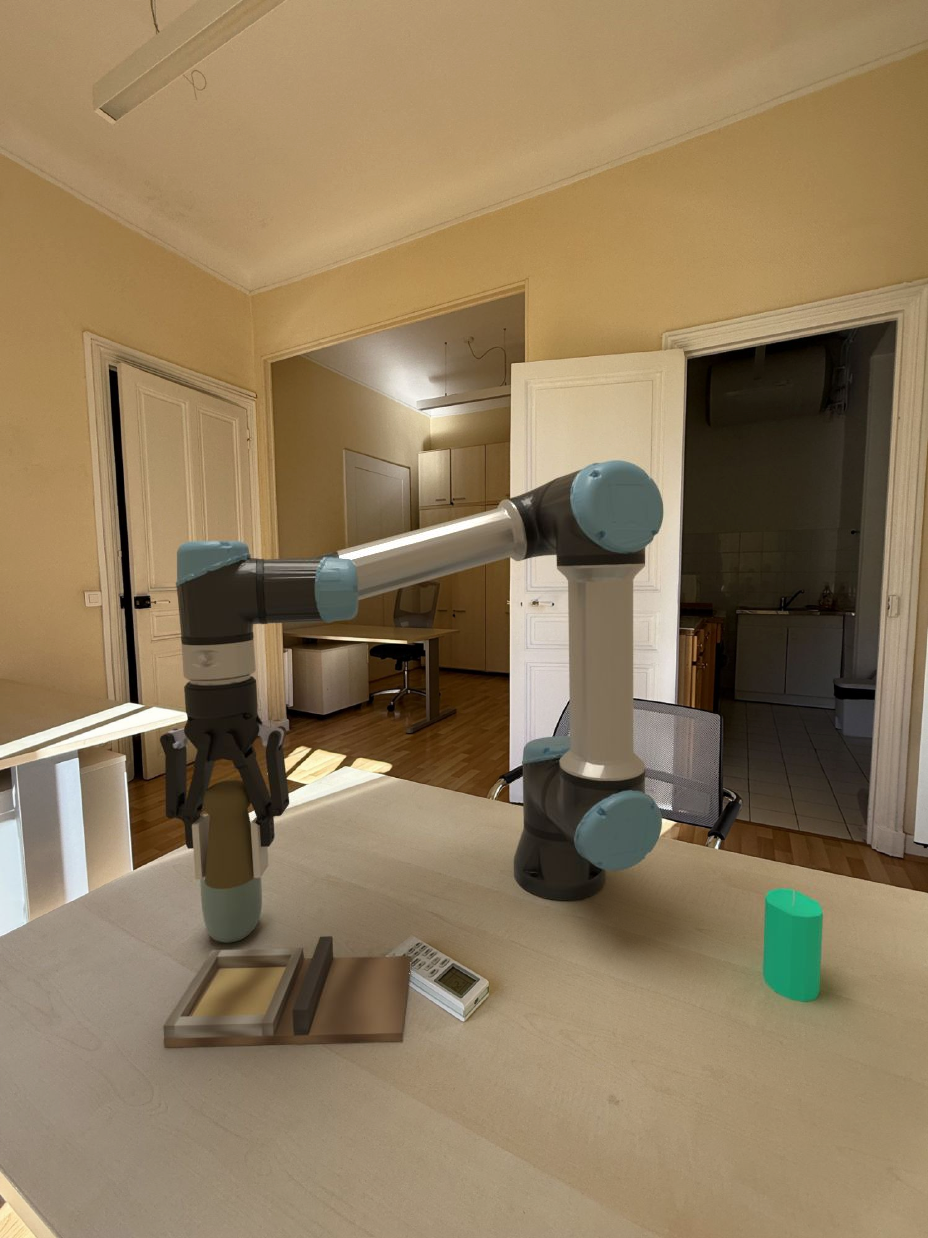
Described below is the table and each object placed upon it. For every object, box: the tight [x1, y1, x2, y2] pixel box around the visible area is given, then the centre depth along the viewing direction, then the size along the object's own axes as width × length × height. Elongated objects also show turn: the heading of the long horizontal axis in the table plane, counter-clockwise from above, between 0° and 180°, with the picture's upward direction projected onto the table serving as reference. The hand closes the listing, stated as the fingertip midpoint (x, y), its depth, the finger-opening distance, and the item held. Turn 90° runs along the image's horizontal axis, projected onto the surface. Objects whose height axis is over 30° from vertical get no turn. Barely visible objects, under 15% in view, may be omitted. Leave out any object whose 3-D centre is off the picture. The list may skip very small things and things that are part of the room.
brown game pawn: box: [203, 779, 254, 889], centre depth 64 cm, size 6×6×11 cm
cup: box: [199, 876, 263, 944], centre depth 79 cm, size 8×8×10 cm
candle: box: [762, 887, 824, 1003], centre depth 67 cm, size 6×6×12 cm
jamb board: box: [162, 935, 412, 1048], centre depth 66 cm, size 26×12×4 cm, turn 90°
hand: (232, 871), depth 65 cm, fingers closed on brown game pawn, 6 cm apart
